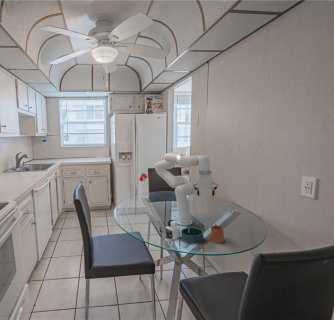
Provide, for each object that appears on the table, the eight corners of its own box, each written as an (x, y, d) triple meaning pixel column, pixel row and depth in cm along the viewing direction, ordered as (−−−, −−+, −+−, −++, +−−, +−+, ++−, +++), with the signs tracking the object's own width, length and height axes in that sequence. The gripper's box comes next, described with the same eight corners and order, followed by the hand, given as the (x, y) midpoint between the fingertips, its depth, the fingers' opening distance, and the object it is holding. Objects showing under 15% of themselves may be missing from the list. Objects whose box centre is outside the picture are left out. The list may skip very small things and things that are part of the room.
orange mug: (224, 243, 136) (223, 230, 135) (212, 243, 138) (211, 229, 138) (222, 236, 146) (221, 223, 145) (210, 236, 148) (209, 223, 148)
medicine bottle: (166, 236, 153) (164, 220, 153) (173, 234, 156) (172, 218, 156) (172, 240, 147) (171, 223, 146) (180, 237, 150) (179, 221, 149)
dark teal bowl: (177, 239, 148) (176, 231, 148) (190, 233, 155) (190, 226, 155) (194, 246, 136) (193, 238, 136) (208, 239, 143) (207, 231, 143)
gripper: (216, 171, 155) (218, 194, 156) (191, 172, 161) (193, 194, 162) (218, 173, 148) (219, 197, 149) (191, 174, 154) (193, 197, 155)
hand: (205, 195), depth 156 cm, fingers open, 9 cm apart
